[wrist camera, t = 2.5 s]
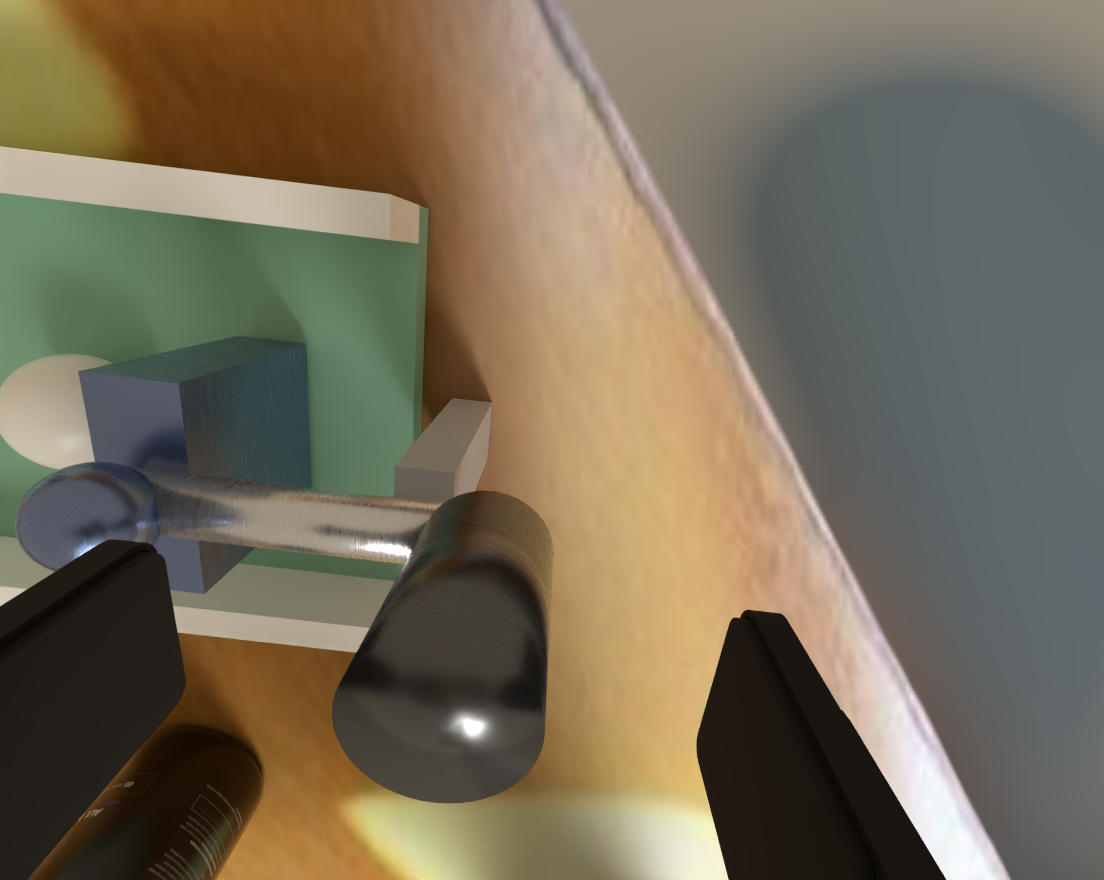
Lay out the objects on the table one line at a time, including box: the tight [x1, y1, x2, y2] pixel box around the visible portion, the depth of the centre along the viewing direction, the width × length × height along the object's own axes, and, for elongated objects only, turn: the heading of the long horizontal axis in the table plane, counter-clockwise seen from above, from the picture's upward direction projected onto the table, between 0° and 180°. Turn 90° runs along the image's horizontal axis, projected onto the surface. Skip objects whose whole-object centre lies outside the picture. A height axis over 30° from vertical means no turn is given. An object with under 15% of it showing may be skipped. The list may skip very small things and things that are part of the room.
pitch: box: [0, 146, 492, 653], centre depth 17 cm, size 28×16×7 cm, turn 83°
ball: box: [0, 354, 113, 469], centre depth 18 cm, size 4×4×4 cm
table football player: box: [15, 336, 553, 803], centre depth 14 cm, size 12×6×12 cm, turn 83°
